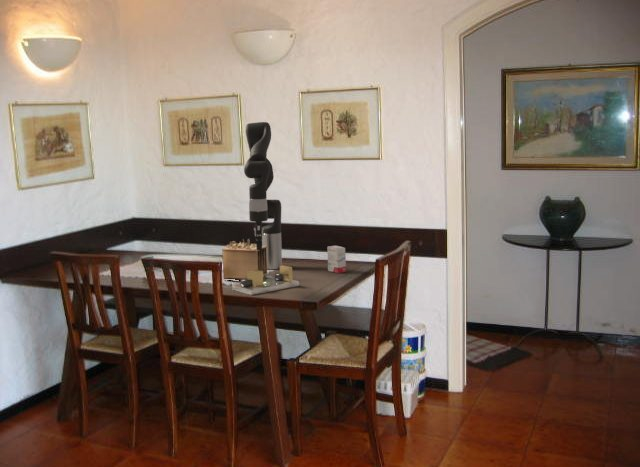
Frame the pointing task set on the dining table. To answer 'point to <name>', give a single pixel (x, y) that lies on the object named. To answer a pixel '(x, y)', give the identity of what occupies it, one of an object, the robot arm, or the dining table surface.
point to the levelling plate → (265, 286)
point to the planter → (243, 260)
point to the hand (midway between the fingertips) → (259, 247)
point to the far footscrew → (284, 273)
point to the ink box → (336, 259)
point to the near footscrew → (253, 278)
